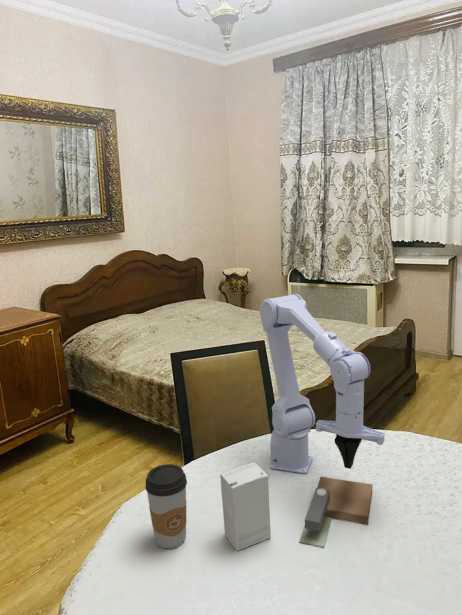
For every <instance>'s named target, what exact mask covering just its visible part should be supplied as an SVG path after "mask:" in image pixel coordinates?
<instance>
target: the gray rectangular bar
mask: <svg viewBox="0 0 462 615" xmlns="http://www.w3.org/2000/svg"><path fill="white" fill-rule="evenodd" d="M329 499H330V490H326V489H320V488H317V487H315V491H314V492H313V495H312V499H311V501H310V504H309V507H308V510H307V511H306V515H305V518H304V525H305V529H310V530H315V531H320V528H321V525H322V522H323V518H324V515H325V512H326V509H327V505H328V502H329Z"/></svg>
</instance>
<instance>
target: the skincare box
mask: <svg viewBox="0 0 462 615" xmlns="http://www.w3.org/2000/svg"><path fill="white" fill-rule="evenodd" d="M219 478H220V490H221V501H222V513H223V514H222V515H223V527H224V535H225V537H226V538H227V540H228V541H229V540H230V541H229V543H230V544H231V543H232V544H231V545H232V547H233V546H234V547H235V548H234V547H233V548H234V549H235V551H236V550H239V551H241V550H243V548H244V549H246V548H249V547H250V545H251V546H252V545H255V544H258V543H260V542H263V541H265V540H268V539H271V538H272V536H271V535H272V534H271V532H272V531H271V530H272V529H271V512H270V511H271V510H270V492H269V488H270V486H269V475H268V474H267V473H266V472H265V471H264V470H263V469H262V468H261V467H260V466H259V465H258V464H257V463H256V462H255V461H253V462H251V463H248V464H247V463H246V464H245V465H242V466H239V467H236V468H233V469H231V470H226V471H225V472H222V473H220V474H219ZM248 546H249V547H248ZM245 547H246V548H245ZM240 549H241V550H240Z"/></svg>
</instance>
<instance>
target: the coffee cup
mask: <svg viewBox="0 0 462 615" xmlns="http://www.w3.org/2000/svg"><path fill="white" fill-rule="evenodd" d="M186 475H187V474H186V473H185V472H184V470H183V468H182V467H181V466H180V465H177V464H171V463H168V464H167V463H166V464H160V465H157V466H155V467H153V468H151V469H150V470H149V471H148V473H147V476H146V478H145V486H144V488H145V491H146V493H147V494H146V495H147V498H148V499H147V500H148V508H149V513H150V519H151V524H152V525H151V526H152V528H153V535H154V540H155V542H156V544H157V546H159V547H160V546H161V547H160V548H162V547H163V548H162V549H165V548H172V549H175V548H174V547H176V548H177V546H178V547H180V546H181V545H182V544H183V543H184V542H183V541H185V540H186V537H187V484H188V480H187V476H186ZM184 539H185V540H184ZM182 542H183V543H182ZM181 543H182V544H181ZM180 544H181V545H180ZM179 545H180V546H179Z"/></svg>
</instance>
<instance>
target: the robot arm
mask: <svg viewBox="0 0 462 615" xmlns="http://www.w3.org/2000/svg"><path fill="white" fill-rule="evenodd" d="M259 314H260V315H259V316H260V320H261V325H262V330H263V332H265V334H266V337H267V344H268V348H269V352H270V353H269V354H270V357H271V362H272V367H273V372H274V376H275V383H276V388H277V391H278V393H277V394H278V398H277V399H276V401H274V404H273V405H272V406H271V410H272V412H271V413H272V420H271V422H272V427H273V430H272V432H271V435H270V442H269V444H270V448H269V449H270V466H269V468H270V469H272V470H277V471H278V470H279V471H284V472H285V471H286V472H291V473H292V472H293V473H297V474H298V473H299V474H307V473H308V472H309V469H310V466H311V464H312V461H313V456H311V455H309V433H310V432H312V431H311V429H312V428H313V427H314V425H315V432H325V433H326V432H327V433H330V434H335V438H334V444H335V446H336V447H337V449H338V451H339V453H340V455H341V458H342V463H343V466H344V468H345V469H349V470H351V469H352V467H353V466H354V462H355V457H356V455H357V454H356V453H357V452H358V449H359V447H360V445H361V442H362V441H368V442H373V443H376V444H377V445H379V446H383V445H384V442H385V432H382V431H378V430H375V429H373V428H370V427H368V426H365V425H364V404H365V403H364V402H365V400H364V398H365V379H368V378H369V376H370V374H371V363H370V362H369V360H368V358H367V357H366V356H365V354H364V353H362V352H360V351H355V350H354V349H352V350H351V349H350V347H348V346H347V345H346V344H345V343H344V342H343V341H342V340H341V339H340V338H339V337H338V335H337V334H336V333H335V332H332V331H325V330H324V329H323V327H321V325H320V324H319V323H318V321H317V320H316V319H315V318H314V317H313V316H312V315H311V313H310V312H309V311H308V305H307V301H306V300H304V299H303V297H302V296H301V294H298V293H292V294H289V295H283V296H277V297H271V298H270V297H269V298H265V299H263V301H262V303H261V305H260V307H259ZM293 326H295V327H296V328H298V330H299V331H301V332H302V333H303V334H304V335H305V336H306V337H308V339H310V340H311V341H312V342H313V344H312V346H313V350H314V352H315V353H316V354H317V355H318V356H319V357H320V358H321V360H323V361H324V362H325V364H326V365H327V366H329V371H330V375H331V378H332V380H333V388H334V390H335V394H336V395H335V398H336V399H335V420H323V419H318V420H317V421H316V415H315V411H314V410H313V407H312V406H311V403H310V399H309V398H308V397H307V396H304V395H303V394H301V393H300V388H299V382H298V378H297V373H296V368H295V363H294V358H293V354H292V349H291V346H290V345H291V344H290V340H289V335H288V334H289V332H290V330H291V329H292V327H293Z"/></svg>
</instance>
